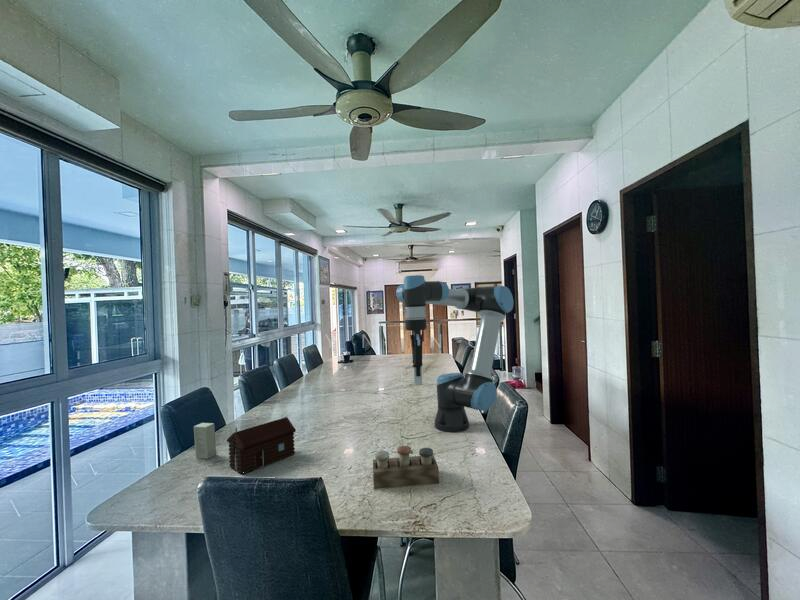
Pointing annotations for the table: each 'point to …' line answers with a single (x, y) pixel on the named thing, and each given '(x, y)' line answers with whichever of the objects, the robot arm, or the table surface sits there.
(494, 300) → the robot arm
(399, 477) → the socket block
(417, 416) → the table surface
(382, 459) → the plug cream
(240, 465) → the model building
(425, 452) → the plug charcoal
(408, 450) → the plug terracotta
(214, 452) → the skincare box
